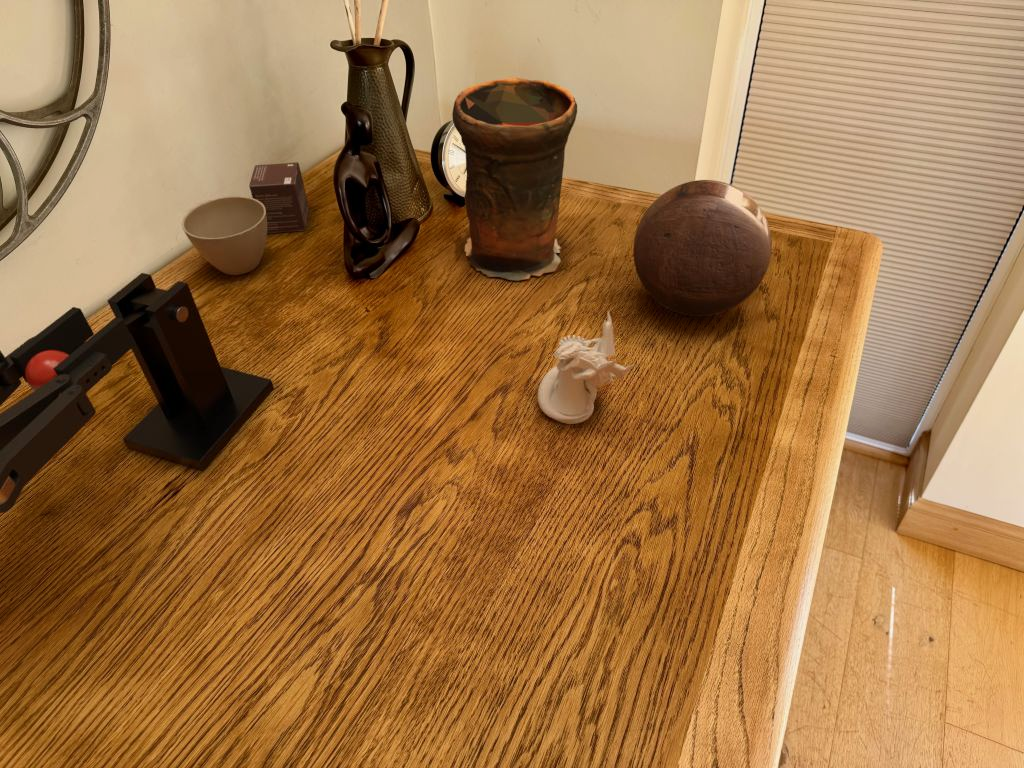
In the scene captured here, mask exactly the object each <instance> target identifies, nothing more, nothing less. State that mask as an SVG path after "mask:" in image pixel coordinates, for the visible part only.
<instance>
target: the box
mask: <svg viewBox="0 0 1024 768" xmlns="http://www.w3.org/2000/svg"><path fill="white" fill-rule="evenodd" d="M248 187H249V190H250V193H251V198H254V199H256V200H258V201H260V202H261V203H262V204H263V205H264V206H265V209H266V216H267V234H276V233H286V232H304V231H306V230H307V225H308V219H309V213H310V206H309V201H308V198H307V193H306V188H305V184H304V180H303V175H302V171H301V168H300V163H299V162H286V163H285V162H284V163H283V162H282V163H269V164H267V163H266V164H256V165H254V168H253V172H252V175H251V178H250V181H249V185H248Z"/></svg>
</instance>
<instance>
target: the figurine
mask: <svg viewBox="0 0 1024 768" xmlns="http://www.w3.org/2000/svg"><path fill="white" fill-rule="evenodd" d="M606 315H607V316H606V317H607V318H606V319H607V320H606V319H604V321H603V324H602V331H601V332H602V337H595V338H591V339H587V340H586V339H585V338H584V337H582V336H581V335H577V338H576V335H575V334H572V337H571V335H567V337H566V336H564V337H562V339H560V340H559V343H558V345H559V347H558V348H557V349H556V350H555V352H554V353H553V356H554V358H555V359H556V360H558V362H557V363H556V364H555V365H554V366H553V367H552V368H551V369H550V370H549V371H547V372H546V373H545V374H544V376H543V378H542V379H541V381H540V383H539V386H538V390H537V403H538V406H539V408H540V410H541V411H542V412H543V414H545V415H546V416H547V417H549V418H550V419H553V420H555V421H557V422H560V423H562V424H568V425H573V424H580V423H583V422H585V421H586V420H588V419H589V418H590V417H592V415H593V413H594V410H595V407H594V406H595V403H594V402H595V401H596V398H597V394H598V387H601V386H602V385H604V384H607V385H610V384H611V383H613V382H615V380H614V377H616V378H617V379H618V380H619V382H620V383H621V382H622V381H623V378H624V377H625V376H626V375H627V374H628V372H629V371H630V370H631V369H632V368H633V367H635V365H636V363H632V364H631V365H628V366H623V365H621V364H619V363H617V355H616V347H615V335H614V327H613V322H612V317H611V315H610V312H609V311H608V310H607V314H606ZM581 337H582V338H581ZM590 344H594V345H592V347H589V345H590ZM608 357H614V359H613V360H609V361H608V359H607V358H608Z"/></svg>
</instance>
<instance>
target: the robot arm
mask: <svg viewBox="0 0 1024 768" xmlns="http://www.w3.org/2000/svg"><path fill="white" fill-rule="evenodd" d="M84 342H85V343H84ZM83 343H84V344H83ZM81 344H82V345H81ZM79 345H81V346H80V347H79V348H78V349H76V350H75V351H74V352H73V353H72V354H70V355H69V356H68V357H67V358H65V359H64V360H63V361H62V362H61V363H59V364H58V365H57V366H56V367H55V368H53V369H54V370H55V372H56V374H57V375H58V376H57V377H55V378H53V379H52V380H50V381H49V382H47V383H46V384H44V385H43V386H41V387H40V388H38V389H37V390H35V391H34V390H33V391H32V392H31V393H29V394H28V395H26V396H24V397H23V398H22V399H20V400H19V401H17V402H15V403H14V404H13V405H11V406H9V407H8V408H6V409H5V410H4V411H2V412H0V514H5V513H6V512H9V511H10V510H12V509H13V507H14V506H15V504H16V502H17V500H18V499H19V497H20V495H21V493H22V491H23V490H24V488H25V486H26V485H27V484H28V483H29V482H30V481H31V480H32V479H33V478H34V477H35V476H36V475H37V474H38V473H39V472H40V471H41V470H42V468H44V467H45V466H46V465H47V464H48V463H49V461H51V460H52V458H54V456H56V455H57V454H58V452H59V451H60V450H61V449H63V448H64V447H65V445H67V443H68V442H70V440H71V439H73V437H75V435H76V434H77V433H78V432H80V430H81V429H83V427H84V426H86V424H87V423H88V422H90V420H91V419H92V418H93V417H94V416H95V415H96V413H97V410H96V409H95V407H94V405H93V403H92V401H91V399H90V398H89V397H88V395H87V393H88V392H89V391H90V390H92V388H93V387H95V386H96V385H97V384H98V383H99V382H100V381H101V380H102V379H103V378H105V377H106V376H107V375H108V374H109V373H110V372H111V371H112V369H113V366H114V364H116V363H117V362H118V361H119V360H120V359H121V358H123V357H124V356H125V355H126V354H127V353H128V352H129V351H130V350H132V349H131V348H132V347H134V346H135V343H134V341H133V339H132V336H131V334H130V332H129V330H128V328H127V326H126V324H125V322H124V320H123V319H121V318H117V317H115V316H114V318H113V319H111V320H110V321H109V322H108V323H106V324H105V325H104V326H103V327H102V328H101V329H99V330H98V331H97V332H96V333H94V331H93V329H92V327H91V326H90V324H89V322H88V320H87V318H86V316H85V313H83V310H82V309H81V308H80V307H75V306H73V307H70V309H69V310H67V311H66V312H64V314H61V316H59V317H58V318H57V319H55V320H54V321H52V322H51V323H50V324H48V325H47V327H45V328H44V329H42V330H41V331H40V332H39V333H37V334H36V335H34V336H32V337H30V338H28V339H27V340H25V341H24V342H23V343H22V344H20V345H19V346H18V347H17V348H15V349H14V350H13V351H11V352H10V353H9V354H8V355H6V356H5V354H3V352H2V351H1V350H0V407H2V405H3V404H4V403H5V402H6V401H7V400H8V399H9V398H10V397H11V396H12V395H13V394H14V393H15V392H16V391H17V389H18V388H19V387H20V386H21V385H22V380H21V378H23V380H24V381H25V383H27V380H26V377H25V369H26V366H27V364H28V362H29V361H30V359H31V358H32V357H33V356H35V355H36V354H38V353H40V352H43V351H47V350H58V351H62V352H65V353H68V352H70V351H71V350H73V349H75V348H76V347H78V346H79ZM59 395H60V396H59Z"/></svg>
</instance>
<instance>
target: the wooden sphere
mask: <svg viewBox="0 0 1024 768" xmlns="http://www.w3.org/2000/svg"><path fill="white" fill-rule="evenodd" d="M637 225H638V226H637V229H636V231H635V235H634V241H633V249H632V250H633V253H632V254H633V263H634V268H635V271H636V274H637V276H638V279H639V281H640V283H641V285H642V286H643V288H644V289H645V290H646V292H647V294H649V295H650V296H651V297H652V299H654V301H656V302H657V303H658V304H659V305H661V306H663V307H664V308H666V309H668V310H670V311H672V312H675V313H678V314H681V315H685V316H690V317H691V316H692V317H707V316H715V315H717V314H722V313H725V312H727V311H730V310H731V309H734V308H735V307H737V306H738V305H740V304H741V303H743V302H744V301H745V300H747V299H748V298H749V297H750V296H751V295H752V294H753V293H754V292H755V291H756V290H757V289H758V287H759V286H760V285H761V282H763V279H764V278H765V276H766V274H767V272H768V269H769V265H770V261H771V258H772V250H773V243H772V241H773V239H772V232H771V228H770V224H769V221H768V219H767V217H766V215H765V213H764V211H763V210H762V208H761V207H760V205H759V204H758V203H757V201H755V200H754V198H753V197H752V196H751V195H749V194H748V193H746V192H745V191H744V190H742V189H740V188H739V187H737V186H735V185H733V184H730V183H729V182H728V183H727V182H723V181H720V180H714V179H713V180H712V179H699V180H692V181H688V182H685V183H681V184H678V185H676V186H674V187H672V188H670V189H668V190H667V191H666V192H664V193H662V194H661V195H660V196H658V197H657V198H656V199H655V200H654V201H653V202H652V203H651V204H650V205H649V207H648V208H647V209H646V211H645V212H644V214H643V215H642V217H641V219H640V221H639V223H638V224H637Z"/></svg>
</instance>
